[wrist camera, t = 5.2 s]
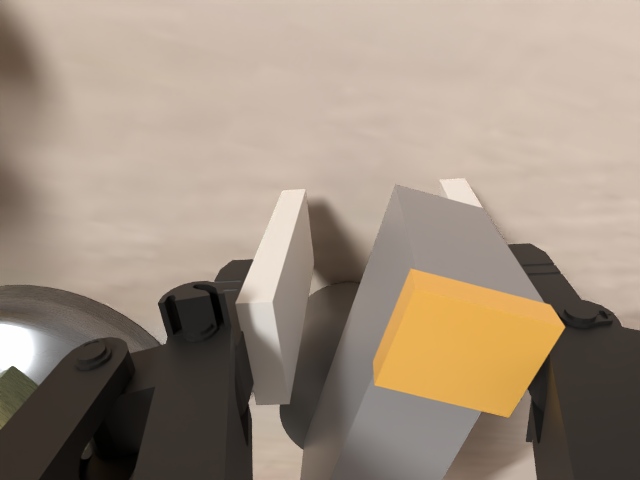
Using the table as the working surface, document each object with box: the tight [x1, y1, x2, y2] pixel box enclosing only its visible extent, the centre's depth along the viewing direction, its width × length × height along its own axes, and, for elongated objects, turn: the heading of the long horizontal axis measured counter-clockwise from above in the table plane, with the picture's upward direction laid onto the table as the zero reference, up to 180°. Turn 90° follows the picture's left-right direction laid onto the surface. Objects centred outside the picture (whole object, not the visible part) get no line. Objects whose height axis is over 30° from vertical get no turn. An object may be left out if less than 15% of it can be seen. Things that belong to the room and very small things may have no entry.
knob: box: [280, 184, 565, 480], centre depth 13 cm, size 10×4×9 cm, turn 165°
